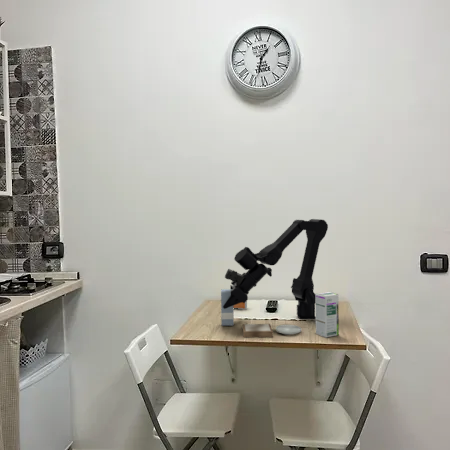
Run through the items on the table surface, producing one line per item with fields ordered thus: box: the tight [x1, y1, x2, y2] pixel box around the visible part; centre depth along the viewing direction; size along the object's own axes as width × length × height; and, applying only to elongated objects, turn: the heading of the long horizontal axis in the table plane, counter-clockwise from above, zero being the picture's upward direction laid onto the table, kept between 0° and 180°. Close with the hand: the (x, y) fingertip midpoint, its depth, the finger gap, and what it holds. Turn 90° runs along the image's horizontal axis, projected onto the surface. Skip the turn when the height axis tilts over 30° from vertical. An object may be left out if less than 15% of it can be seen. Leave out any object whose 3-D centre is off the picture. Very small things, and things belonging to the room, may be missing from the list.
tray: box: [242, 323, 274, 338], centre depth 170 cm, size 10×10×2 cm
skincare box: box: [231, 284, 248, 310], centre depth 207 cm, size 6×4×12 cm
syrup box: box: [315, 291, 340, 338], centre depth 167 cm, size 6×6×14 cm
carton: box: [220, 288, 235, 326], centre depth 181 cm, size 5×5×12 cm
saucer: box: [275, 324, 302, 335], centre depth 170 cm, size 9×9×2 cm
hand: (223, 306), depth 181 cm, fingers closed on carton, 5 cm apart
